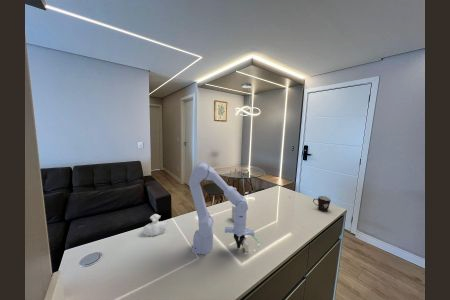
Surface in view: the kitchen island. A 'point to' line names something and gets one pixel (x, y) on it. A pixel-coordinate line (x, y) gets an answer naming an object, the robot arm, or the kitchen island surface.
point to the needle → (245, 245)
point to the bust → (155, 226)
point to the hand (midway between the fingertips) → (238, 246)
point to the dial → (255, 249)
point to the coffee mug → (323, 203)
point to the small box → (233, 212)
